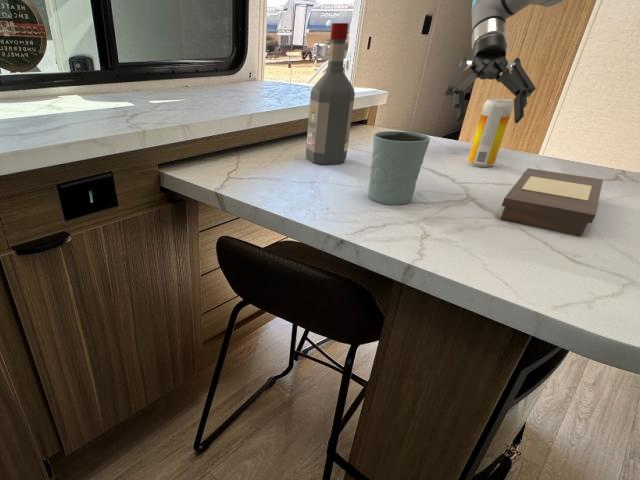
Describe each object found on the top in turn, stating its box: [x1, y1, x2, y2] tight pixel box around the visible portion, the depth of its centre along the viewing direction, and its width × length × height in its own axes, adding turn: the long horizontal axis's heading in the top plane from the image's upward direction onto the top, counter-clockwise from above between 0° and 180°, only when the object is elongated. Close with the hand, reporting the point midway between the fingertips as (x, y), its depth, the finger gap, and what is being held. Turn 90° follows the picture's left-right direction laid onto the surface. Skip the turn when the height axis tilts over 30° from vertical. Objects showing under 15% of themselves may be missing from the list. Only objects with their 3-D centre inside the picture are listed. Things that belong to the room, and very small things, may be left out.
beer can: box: [467, 97, 514, 168], centre depth 101 cm, size 6×6×15 cm
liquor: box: [305, 22, 356, 166], centre depth 101 cm, size 9×9×30 cm
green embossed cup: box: [367, 130, 431, 206], centre depth 81 cm, size 10×10×12 cm
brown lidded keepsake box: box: [500, 167, 604, 237], centre depth 78 cm, size 24×13×4 cm, turn 141°
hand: (489, 118), depth 102 cm, fingers open, 13 cm apart
